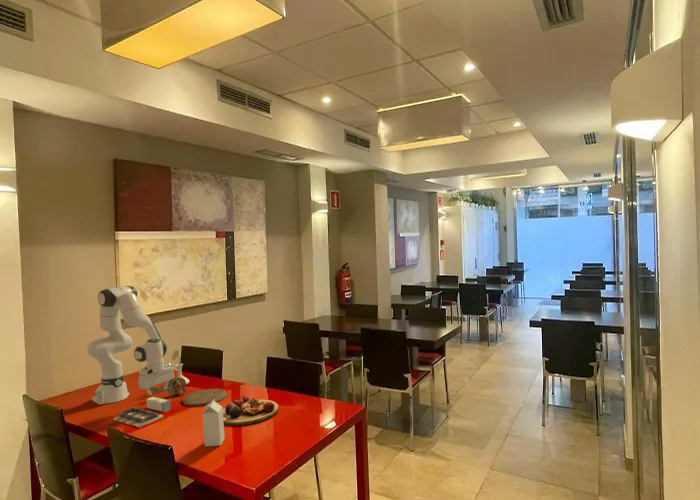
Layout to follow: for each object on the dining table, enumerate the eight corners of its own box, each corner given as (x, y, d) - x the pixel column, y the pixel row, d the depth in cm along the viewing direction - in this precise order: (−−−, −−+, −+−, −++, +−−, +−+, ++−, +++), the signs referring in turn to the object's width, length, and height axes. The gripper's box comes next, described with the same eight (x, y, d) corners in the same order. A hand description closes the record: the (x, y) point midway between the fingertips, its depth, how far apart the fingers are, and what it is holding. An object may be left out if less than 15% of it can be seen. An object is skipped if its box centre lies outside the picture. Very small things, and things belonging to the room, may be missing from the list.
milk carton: (224, 438, 200) (221, 398, 200) (220, 445, 193) (217, 403, 192) (209, 439, 200) (206, 399, 199) (204, 447, 192) (201, 405, 192)
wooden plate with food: (291, 408, 233) (290, 393, 233) (246, 430, 207) (245, 413, 207) (250, 400, 251) (249, 386, 251) (204, 420, 225) (203, 404, 225)
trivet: (233, 391, 268) (233, 388, 268) (217, 406, 243) (216, 403, 243) (194, 392, 270) (194, 389, 270) (174, 407, 245) (174, 404, 245)
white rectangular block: (147, 407, 247) (146, 399, 247) (153, 405, 251) (152, 396, 251) (164, 411, 239) (163, 403, 239) (170, 409, 242) (169, 400, 242)
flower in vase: (172, 384, 289) (169, 347, 289) (190, 381, 293) (187, 345, 292) (170, 390, 277) (167, 351, 276) (189, 387, 280) (186, 349, 280)
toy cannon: (187, 394, 266) (186, 372, 266) (151, 402, 255) (149, 379, 255) (184, 390, 273) (183, 369, 273) (149, 399, 262) (147, 376, 262)
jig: (113, 420, 232) (113, 414, 231) (138, 410, 243) (138, 405, 243) (138, 427, 219) (138, 421, 219) (163, 417, 231) (162, 411, 231)
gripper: (168, 362, 255) (170, 385, 255) (136, 372, 237) (138, 397, 238) (175, 363, 251) (177, 386, 251) (142, 373, 234) (144, 398, 234)
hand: (158, 391), depth 244 cm, fingers open, 8 cm apart
